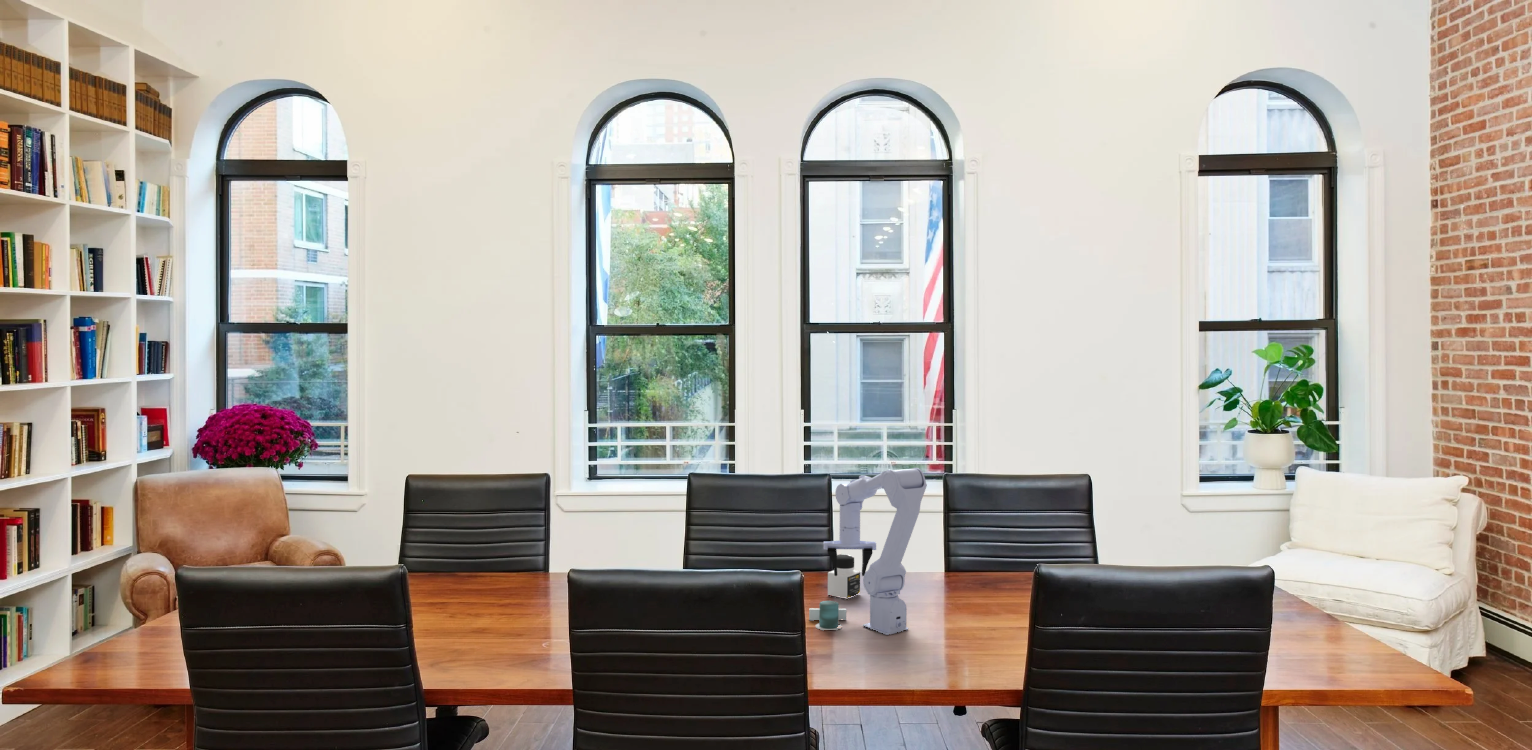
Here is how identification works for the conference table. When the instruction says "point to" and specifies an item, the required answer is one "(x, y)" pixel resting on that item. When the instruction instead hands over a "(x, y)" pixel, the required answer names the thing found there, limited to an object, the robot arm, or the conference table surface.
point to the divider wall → (815, 611)
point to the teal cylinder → (828, 614)
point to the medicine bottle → (844, 578)
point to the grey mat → (826, 629)
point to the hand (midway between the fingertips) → (849, 575)
